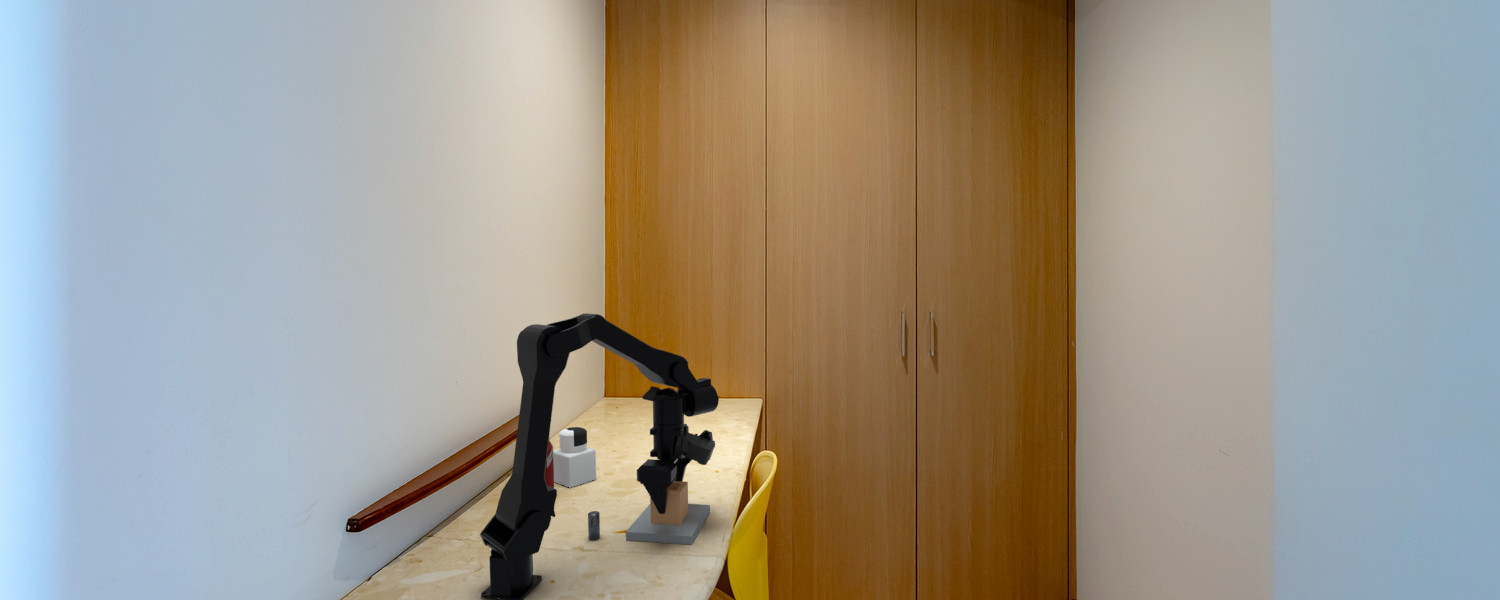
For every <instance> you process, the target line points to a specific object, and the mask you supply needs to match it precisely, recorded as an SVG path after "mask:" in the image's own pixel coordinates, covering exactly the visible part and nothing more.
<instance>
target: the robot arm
mask: <svg viewBox="0 0 1500 600" xmlns="http://www.w3.org/2000/svg"><path fill="white" fill-rule="evenodd" d="M590 342H593V343H595V344H596V345H598V346H600V347H602V348H604V349H606V350H608V351H609V352H611V353H613V354H615V355H617V356H619V357H621V358H622V359H624V360H626V361H627V362H630V363H631V364H633V365H634V366H635V367H637V368H638V370H639V372H640V374H642V375H643V376H644V377H645V378H646V379H648V381H650V382H652V383H654V384H657V385H664V386H667V387H664V388H660V387H657V386H650V387H649V389H648V390H647V391H646V392H645V393H644V394H643V395H642V400H645V401H648V402H649V401H650V402H652V424H653V425H652V427H651V428H650V429H649V436H653V439H652V440H653V449H651V450H650V452H649V456H650V459H649V458H648V459H646V461H644V462H643V463H642V465H640V466H639V467H638V468H637V469H636V481H637V482H638V483H639V484H641V485H643V487H644V488H645V490H646V492H647V494H648V495H649V497H651V499H652V501H653V503H654V505H655V507H656V509H657V511H658V512H659V514H665V512H666V506H667V498H668V491H669V486H670V485H671V484H672V483H673V482H674V481H683V480H684V477H685V474H686V473H685V472H686V468H687V466H688V465H689V464H690V463H691V462H692V461H695V462H697V464H699V465H701V466H702V465H703V466H706V465H707V464H708V462H709V461H710V460H711V458H712V455H713V452H714V449H716V440H713V439H714V438H713V432H712V431H710V430H707V429H704V430H703V431H702V432H701V433H700V434H699V435H698V433H695V434H694V433H690V432H689V431H690V430H689V426H688V423H685V417H688V418H690V417H695V416H700V415H702V414H703V415H704V414H707V413H711V412H714V411H716V410H717V408H718V407H719V406H718V405H719V400H720V398H719V397H720V396H719V395H718V392H717V391H716V388H715V386H713V384H712V379H711V378H709V377H700V378H698V379H696V377H695V376H694V374H693V373H692V370H690V368H689V361H688V360H687V359H686V358H685V357H684V356H682V355H679V354H676V353H673V352H670V351H666V350H663V349H658V348H655V347H653V346H651V345H649V344H647V343H646V342H644V341H643V340H641V339H639V338H637V337H635V336H634V335H632V334H630V333H629V332H628V331H626V330H624V329H622V328H620V327H619V326H617V325H615V324H613V322H610V321H609V320H607V319H606V318H605V317H604V316H603V315H601V314H598V313H588V312H587V313H586V312H585V313H582V314H579V315H577V316H574V317H571V318H568V319H567V318H566V319H564V320H563V319H562V320H559V321H555V322H551V323H548V324H539V323H538V324H537V323H534V324H530V325H528V326H526V327H525V328H524V329H523V330H521V331H519V334H518V336H517V339H516V353H517V364H518V365H517V366H518V367H519V371H520V374H521V377H522V391H521V396H520V397H521V399H520V405H519V406H520V408H519V415H518V423H517V431H516V440H515V448H514V454H513V455H514V456H513V464H512V472H511V475H510V477H509V479H508V480H507V482H506V484H505V485H504V486H503V488H502V490H501V493H500V497H499V499H498V503H497V507H496V511H495V514H494V515H493V516H492V517H491V518H490V520H489V522H488V523H487V524H486V525H485V527H484V528H483V529H482V530H481V531H480V533H479V535H480V538H481V540H482V542H483V544H484V545H485V546H487V547H489V548H490V549H491V550H490V556H489V559H488V560H489V586H487V588H485V590H483V591H482V592H481V593H480V598H482V597H491V598H500V599H499V600H502V599H510V600H524V598H525V597H526V596H527V595H528V594H529V593H530V592H531V591H532V590H533V589H534V588H535V587H536V586H537V585H538V584H539V583H540V582H541V581H542V580H543V576H542V575H540V574H538V575H537V574H534V557H533V556H534V554H537V553H539V552H540V548H541V547H542V546H541V545H542V542H543V538H544V535H545V532H547V530H549V528H550V526H551V521H552V517H553V518H555V517H556V512H555V506H556V505H555V504H556V501H557V496H558V490H557V489H556V488H555V487H554V488H552V487H550V486H548V485H547V484H546V481H545V468H546V459H547V451H548V442H549V438H550V432H551V423H552V415H553V408H554V399H555V393H556V389H555V388H556V385H557V383H558V381H559V380H560V377H561V376H562V375H563V373H564V371H565V369H566V368H567V363H568V360H569V357H570V354H571V353H572V352H575V351H577V350H580V349H582V348H584V347H586V346H587V345H588V344H590ZM674 388H677V390H675V389H674ZM651 458H652V459H651ZM653 458H656V459H653ZM683 482H684V481H683ZM491 598H490V599H491Z"/></svg>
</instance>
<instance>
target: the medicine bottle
mask: <svg viewBox="0 0 1500 600" xmlns="http://www.w3.org/2000/svg"><path fill="white" fill-rule="evenodd" d="M558 438H559V449H555V450H554V449H553V460H554V483H556V484H558V485H561V486H563V485H564V486H563V487H566V488H568V487H569V489H572V488H575V487H577V485H578V486H580V484H581V485H583V483H584V484H586V482H587V483H590V482H593V481H595V480H597V463H596V460H597V458H596V457H597V456H596V454H597V452H596V449H595V448H592V447H588V430H587V429H586V428H584V427H579V426H572V427H566V428H564V429H562V430H560V432H559V437H558ZM592 480H593V481H592ZM574 486H575V487H574ZM571 487H572V488H571Z"/></svg>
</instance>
